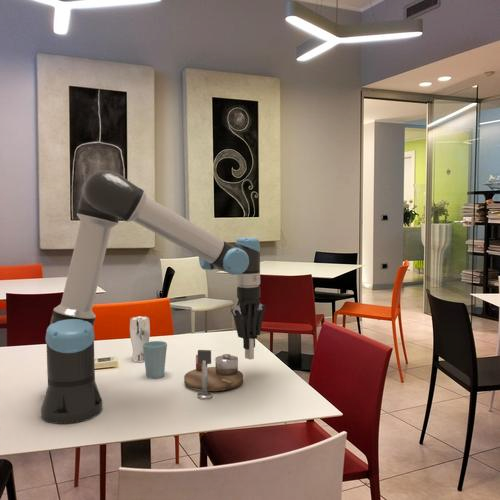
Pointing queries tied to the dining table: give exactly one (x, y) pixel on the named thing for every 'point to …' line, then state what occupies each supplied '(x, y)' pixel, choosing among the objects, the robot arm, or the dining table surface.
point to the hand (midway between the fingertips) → (249, 358)
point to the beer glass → (139, 336)
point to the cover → (226, 365)
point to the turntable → (211, 379)
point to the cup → (155, 358)
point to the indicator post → (204, 373)
